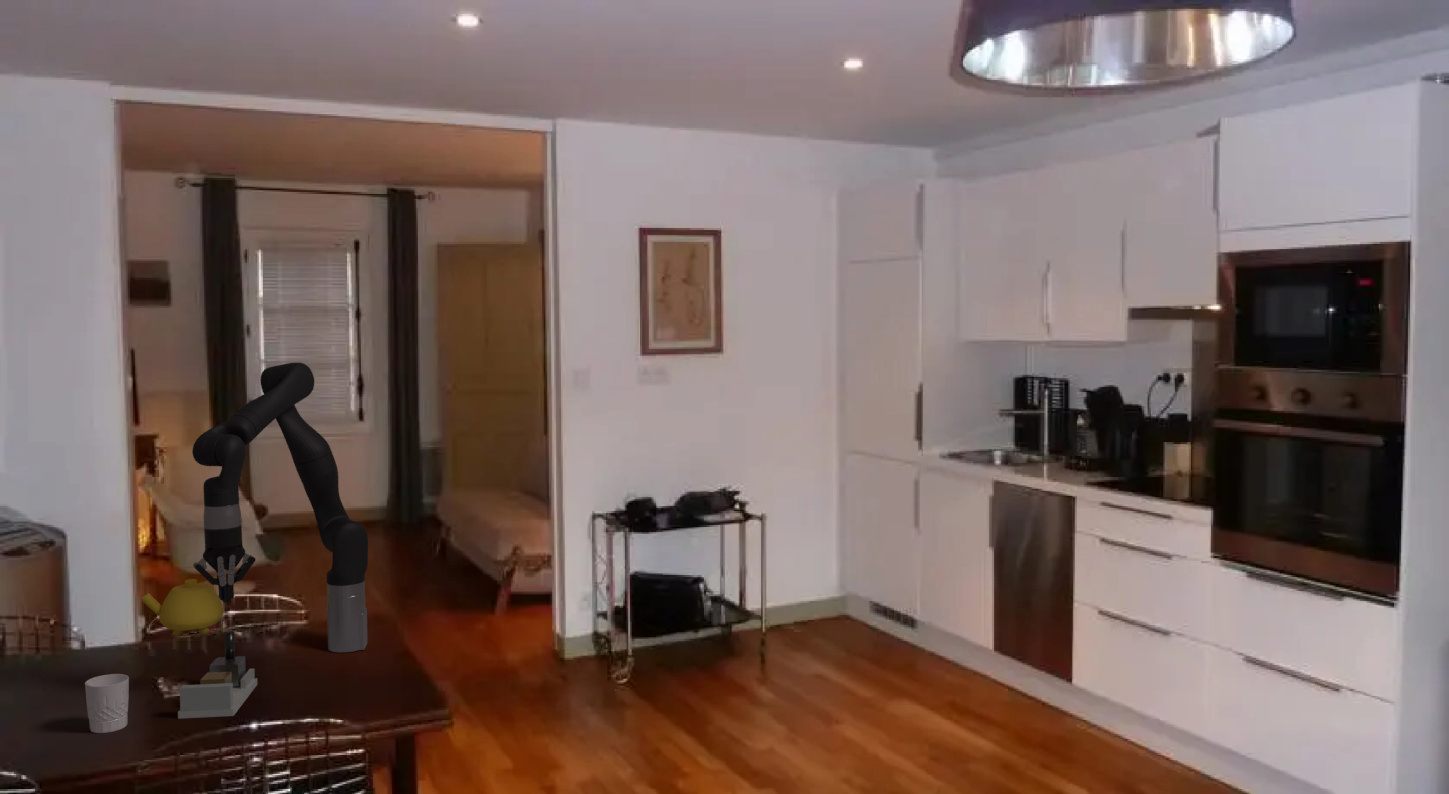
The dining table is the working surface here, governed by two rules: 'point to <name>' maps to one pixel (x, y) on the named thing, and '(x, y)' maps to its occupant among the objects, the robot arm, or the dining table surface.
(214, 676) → the tan cube
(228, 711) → the press
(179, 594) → the teapot
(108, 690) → the white cup
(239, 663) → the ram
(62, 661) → the dining table surface
